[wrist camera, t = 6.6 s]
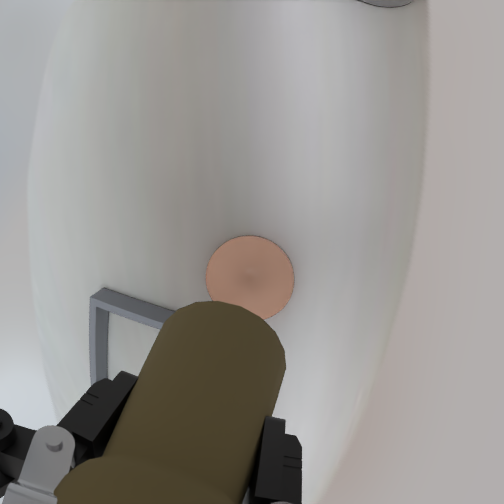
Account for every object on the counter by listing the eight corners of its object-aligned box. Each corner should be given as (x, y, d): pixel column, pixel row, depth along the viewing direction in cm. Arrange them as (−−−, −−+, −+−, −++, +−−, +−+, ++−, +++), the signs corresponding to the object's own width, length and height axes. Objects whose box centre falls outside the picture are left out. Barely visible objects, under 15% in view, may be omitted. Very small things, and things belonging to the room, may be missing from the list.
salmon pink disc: (217, 225, 25) (215, 226, 25) (304, 248, 25) (304, 250, 24) (200, 305, 27) (198, 308, 26) (280, 327, 27) (280, 330, 26)
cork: (234, 274, 13) (89, 534, 2) (310, 380, 14) (315, 621, 3) (132, 337, 14) (-17, 506, 4) (207, 425, 15) (142, 609, 4)
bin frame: (103, 287, 28) (89, 296, 25) (230, 327, 27) (224, 341, 25) (102, 386, 31) (91, 398, 28) (206, 424, 30) (201, 440, 28)
